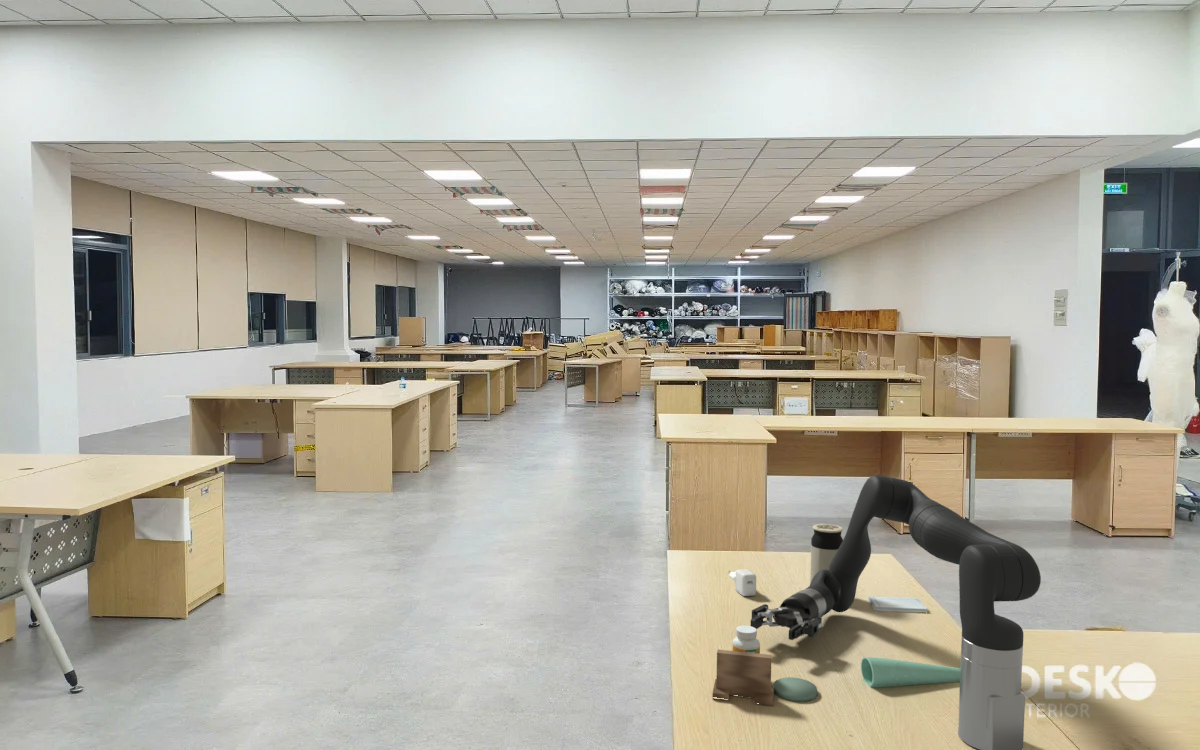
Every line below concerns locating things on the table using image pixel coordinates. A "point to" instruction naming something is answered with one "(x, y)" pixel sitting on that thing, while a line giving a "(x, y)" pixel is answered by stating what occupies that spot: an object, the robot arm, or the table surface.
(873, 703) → the table surface
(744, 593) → the power adapter
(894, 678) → the long green cone
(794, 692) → the pad
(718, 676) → the divider
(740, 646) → the supplement bottle
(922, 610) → the hard drive
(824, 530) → the travel mug
